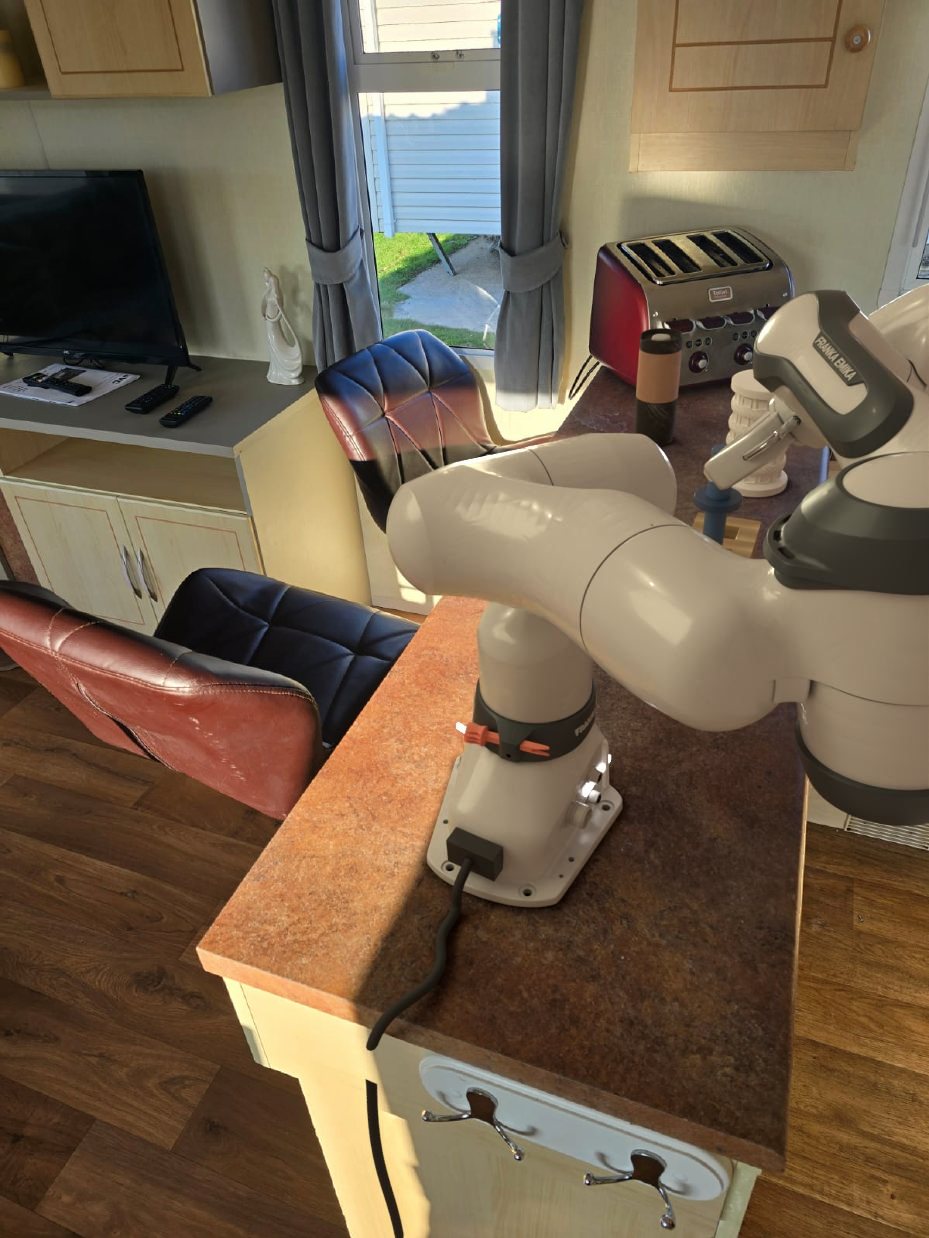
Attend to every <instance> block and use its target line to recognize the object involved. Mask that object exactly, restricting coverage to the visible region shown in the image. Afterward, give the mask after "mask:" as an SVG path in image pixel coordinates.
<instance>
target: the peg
mask: <svg viewBox="0 0 929 1238" xmlns="http://www.w3.org/2000/svg"><path fill="white" fill-rule="evenodd" d="M725 446H727V444H726V443H720V444H719V443H718V444H715V445H713V446H712V447H711V452H710V459H711V458H712V457H713V456H715V455H716V454H717V453H718V452H719V451H721V450H722V449H723V448H724V447H725ZM742 503H743V496H742V494H741V493H740V492H739V491H738V490H736V489H734V488H732V487H730V488H728V489H725V490H720V489H719V488H718V487H717V486H716V485H715V483H714V482H710V481H709V480H708V479H707V484H706V485H703V486H701V487H699V488H697V489H696V490H695V491H694V494H693V504H694V505H695V507H697V508H698V509H699V510H701V511H703V512H704V513H705V517H704V525H703V534H704V535H706V536H708V537H709V538H711V539H712V540H714V541H716V542H717V543H719V544H720V545H722V546H723V540H724V533H725V525H726V518H727V517H728V514H730V513H734V512H736V511H738V510H740V508H741V507H742Z"/></svg>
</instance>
